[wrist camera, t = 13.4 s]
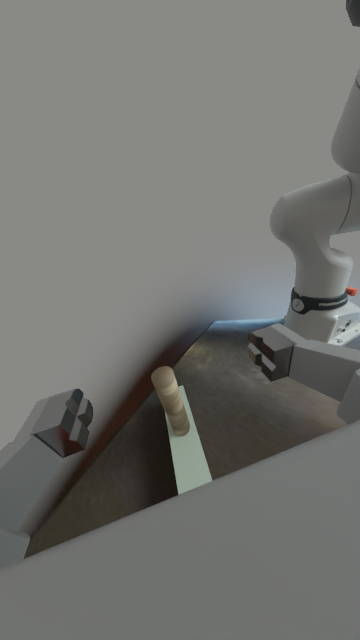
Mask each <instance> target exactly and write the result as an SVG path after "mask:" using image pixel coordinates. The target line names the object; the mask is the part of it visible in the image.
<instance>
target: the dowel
mask: <svg viewBox="0 0 360 640" xmlns="http://www.w3.org/2000/svg"><path fill="white" fill-rule="evenodd" d="M151 379H152V382H153V384H154V387H155V389H156V391H157V394H158V396H159V398H160V401H161V403H162V405H163V408H164V410H165V412H166V415H167V417H168V419H169V422H170V424H171V426H172V429H173V431H174V433H175V434H176V435H177V436H185V435H186V434H187V433H188V432H189V430H190V423H189V420H188V416H187V413H186V410H185V407H184V404H183V401H182V398H181V394H180V391H179V388H178V385H177V382H176V379H175V376H174V372H173V370H172V369H171V368H170V367H167V366H163V367H160V368H158V369H156V370H155V371H154V372H153V374H152V376H151Z"/></svg>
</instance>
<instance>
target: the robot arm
mask: <svg viewBox="0 0 360 640" xmlns="http://www.w3.org/2000/svg"><path fill="white" fill-rule="evenodd" d="M346 9H347V12H348V15H349V18H350V20H351V23H352V25H353V26H358V27H360V0H346ZM331 150H332V151H331V152H332V157H333V159H334V161H335V162H336V163H337V164H338V165H339V166H340V167H341V168H343V169H345V170H347V171H349V172H350V173H349V174H347V175H344V176H341V177H337V178H334V179H329V180H325V181H321V182H318V183H313V184H309V185H306V186H303V187H301V188H298V189H296V190H294V191H291V192H289V193H287V194H285V195H283V196H282V197H281V198H280V199H279V200H278V201H277V203H276V204H275V206H274V208H273V210H272V213H271V217H270V227H271V231H272V233H273V234H274V236H275V237H276V238H277V239H279V240H280V241H282V242H283V243H285V244H286V245H287V246H288V247H289V248H290V249H291V251H292V252H293V254H294V257H295V260H296V278H295V286H294V288H293V289H292V293H291V302H290V305H289V308H288V312H287V315H286V316H285V317H284V321H285V322H284V324H283V325H282V324H279V323H276V324H273V325H270V326H268V327H265V328H262V329H259V330H256V331H253V332H250V333H249V334H248V340H249V341H250V344H249V346H248V353H249V356H250V358H251V360H252V361H253V362H254V363H255V365H258V366H261V371H262V372H263V373H264V374H265V376H266V377H267V378H268V379H269V380H270V381H271V382H272V381H275V380H278V379H281V378H284V377H287V376H289V378H291V379H293V380H296V381H298V382H300V383H302V384H304V385H306V386H308V387H310V388H312V389H314V390H317V391H319V392H321V393H323V394H325V395H327V396H329V397H331V398H333V399H335V400H338V401H340V402H341V403H340V405H339V407H338V410H337V415H338V416H339V417H340V418H341V419H343V420H344V421H345V422H346V423H347V424H348V425H346V426H344V427H341V428H339V429H336V430H334V431H331V432H329V433H327V434H324V435H322V436H319V437H317V438H315V439H312V440H310V441H307V442H305V443H303V444H300V445H298V446H295V447H293V448H290V449H288V450H286V451H283V452H281V453H278V454H276V455H274V456H271V457H269V458H266V459H264V460H262V461H259V462H257V463H254V464H252V465H249V466H247V467H245V468H242V469H240V470H237V471H235V472H233V473H230V474H228V475H225V476H223V477H220V478H218V479H216V480H213V481H211V482H208V483H206V484H204V485H201V486H199V487H196V488H194V489H192V490H189V491H187V492H184V493H182V494H179V495H177V496H175V497H172V498H170V499H167V500H165V501H163V502H160V503H158V504H155V505H153V506H151V507H148V508H146V509H143V510H141V511H138V512H136V513H134V514H131V515H129V516H126V517H124V518H122V519H119V520H117V521H114V522H112V523H110V524H107V525H105V526H102V527H100V528H97V529H95V530H93V531H90V532H88V533H85V534H83V535H81V536H78V537H76V538H73V539H71V540H69V541H66V542H64V543H61V544H59V545H56V546H54V547H52V548H49V549H47V550H44V551H42V552H40V553H37V554H35V555H32V556H30V557H28V558H25V559H24V556H25V553H26V550H27V547H28V544H29V541H30V537H29V535H28V534H24V533H21V532H18V531H17V530H18V528H19V527H20V526H21V524H22V522H23V521H24V519H25V518H26V516H27V515H28V513H29V512H30V510H31V509H32V507H33V505H34V504H35V502H36V501H37V499H38V498H39V496H40V495H41V493H42V491H43V490H44V488H45V487H46V485H47V484H48V482H49V481H50V479H51V477H52V476H53V475H54V473H55V472H56V470H57V469H58V467H59V465H60V464H61V462H62V461H63V458H64V457H67V456H69V455H72V454H74V453H77V452H79V451H82V450H84V449H85V448H86V444H87V439H88V435H89V431H88V429H87V427H88V426H89V424H90V423H91V422H92V418H93V407H92V405H91V403H90V401H89V400H88V399H85V398H83V392H82V391H81V390H80V389H74V390H70V391H67V392H64V393H60V394H57V395H54V396H51V397H48V398H44V399H41V400H40V401H38V402H37V403H36V405H35V406H34V408H33V410H32V411H31V413H30V415H29V416H28V418H27V420H26V421H25V423H24V425H23V426H22V428H21V430H20V432H19V433H18V435H17V437H16V438H15V440H14V442H11V443H9V444H8V445H7V446H6V447H4V448H3V449H2V450H1V451H0V640H360V350H356V349H352V348H347V347H342V346H344V345H345V344H347V343H349V342H350V341H352V340H353V339H355V338H356V337H358V336H359V335H360V308H359V307H357V306H356V305H354V304H352V303H350V302H349V301H348V299H347V294H349V295H351V296H355V295H356V294H357V292H358V289H356V288H351V287H348V288H346V286H347V283H348V280H349V277H350V274H351V270H352V267H353V261H352V259H351V257H350V256H349V255H348V254H347V253H344V252H342V251H340V250H337V249H334V248H330V247H329V238H330V236H331V235H334V234H340V233H347V232H354V231H360V68H359V71H358V74H357V76H356V79H355V82H354V84H353V87H352V90H351V92H350V95H349V97H348V100H347V103H346V105H345V108H344V111H343V114H342V116H341V118H340V121H339V124H338V126H337V129H336V132H335V134H334V137H333V140H332V147H331Z"/></svg>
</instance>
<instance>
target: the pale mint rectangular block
mask: <svg viewBox="0 0 360 640" xmlns="http://www.w3.org/2000/svg"><path fill="white" fill-rule="evenodd" d="M178 388H179V391H180V394H181V398H182V401H183V404H184V407H185V410H186V413H187V416H188V420H189V423H190V430H189V432H188V433H187V434H186V435H185V436H177V435H176V434H175V433H174V431H173V429H172V426H171V424H170V422H169V419H168V417H167V415H166V412H165V415H166V421H167V427H168V433H169V439H170V446H171V452H172V458H173V464H174V470H175V476H176V482H177V488H178V494H182V493H184V492H187V491H189V490H192V489H194V488H196V487H199V486H201V485H204V484H206V483H208V482H211V481H212V478H211V475H210V472H209V468H208V465H207V462H206V459H205V455H204V452H203V449H202V446H201V443H200V439H199V436H198V433H197V430H196V426H195V423H194V420H193V417H192V413H191V410H190V407H189V404H188V400H187V397H186V394H185V391H184V388H183V385H182V386H179V387H178Z"/></svg>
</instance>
